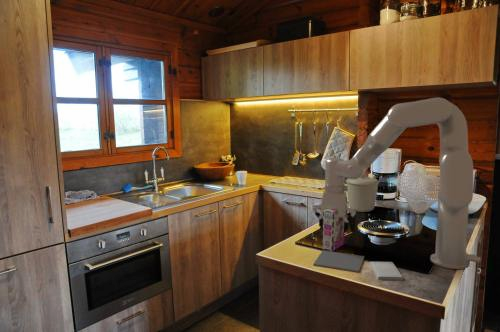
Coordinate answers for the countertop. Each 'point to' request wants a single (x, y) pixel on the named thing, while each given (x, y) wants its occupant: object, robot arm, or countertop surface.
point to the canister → (362, 193)
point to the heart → (425, 179)
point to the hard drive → (386, 271)
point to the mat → (339, 261)
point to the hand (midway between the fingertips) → (333, 229)
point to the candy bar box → (332, 230)
